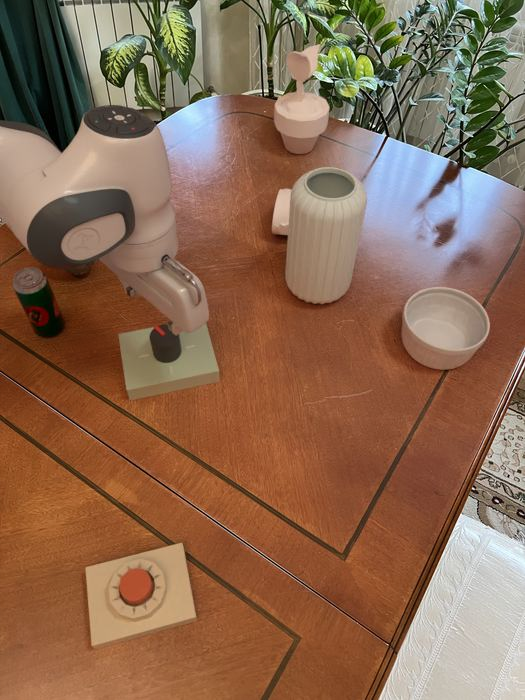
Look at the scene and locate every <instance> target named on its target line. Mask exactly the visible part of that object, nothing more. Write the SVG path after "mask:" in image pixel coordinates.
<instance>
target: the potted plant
mask: <svg viewBox="0 0 525 700" xmlns="http://www.w3.org/2000/svg"><path fill="white" fill-rule="evenodd" d="M321 50H322V41H320V42H319V43H318V44H315V45H312V46H308V47H307V48H305V49H304V50H302V51H301V52H300V51H297V50H294V51H292V52H290V53H288V54H287V57H286V62H285V63H286V65H287V67H288V70H289V74H290V76H291V78H292V79H293V80H295V81H296V82H295V83H296V91H293V92H287V93H286V94H284V95H281V96H279V97H278V98H277V100H276V101H275V103H274V105H273V123H274V125H275V128H276V130H277V131H278V132H280V136H281V139H282V142H283V145H284V148H285V150H286V151H288V152H289V153H291V154H295V155H305V154H308V153H310V152H312V151H313V149H314V147H315V145H316V143H317V141H318V138H319V136H320V135H321V134H323V133H325V132H326V129H327V128H328V124H329V118H330V117H329V116H330V105H329V103H328V101H327V99H326V98H324V97H322V96H321V95H319V94H317V93H313V92H307V91H305V85H304V83H305V82H306V81H307V80H308V79H310V78H311V77H312V75H314V74H315V72H316V71H317V70H318V61H319V58H320V57H321V56H320V55H321ZM324 67H325V66H324V64H322V67H321V69H322V70H324Z"/></svg>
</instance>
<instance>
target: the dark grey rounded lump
mask: <svg viewBox="0 0 525 700" xmlns="http://www.w3.org/2000/svg"><path fill="white" fill-rule="evenodd" d="M95 261H96V260H94V261H92V262H90V263H88V264H85V265H83V266H79V267H75V268H69V269H63V270H64V271H66V272H68V273H70V274H71V275H72V276H74V277H75V278H85V277H87V276H89V274H90V273H91V271H92V267H93V266H94V264H95Z"/></svg>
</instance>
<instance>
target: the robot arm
mask: <svg viewBox="0 0 525 700" xmlns="http://www.w3.org/2000/svg"><path fill="white" fill-rule="evenodd" d="M170 167H171V166H170V162H169V156H168V151H167V148H166V144H165V140H164V137H163V135H162V132H161V130H160V127H159V126H158V124H157V123H156V122H155V121H154V120H152V118H150V117H149V116H148V115H147V114H145V113H143V112H141V111H140V110H138V109H136V108H133V107H129V106H124V105H121V104H105V105H99V106H97V107H93V108H90V109H89V110H88V111H86V112H85V113H84V114H83V115H82V118H81V122H80V125H79V128H78V130H77V132H76V134H75V135H74V137H73V139H72V140H71V142H70V143H69V144H68V146H67V147H65V149H64V150H63V151H61V149H60V148H59V147H58V146H57V145H56V144H55V142H54V141H53V139H51V137H50V136H49V135H48V134H46V133H45V132H44V131H43V130H41V129H40V128H38V127H35V126H33V125H31V124H28V123H25V122H24V123H23V122H19V121H11V120H3V119H0V219H1V220H2V221H3V223H4V224H5V225H6V226H7V227H8V228H9V229H10V231H11V233H13V235H14V237H16V238H17V240H18V241H19V243H21V245H22V246H23V247H24V248H25V249H26V250H27V251H28V253H29V254H30V255H31V256H32V257H33V259H35V260H36V262H38V263H40V264H41V265H43V266H45V267H48V268H52V269H57V270H58V269H60V270H64V269H69V268H75V267H79V266H83V265H85V264H88V263H90V262H92V261H94V260H95V261H96V260H98V261H99V262H100V263H102V264H103V265H104V266H106V267H107V268H108V269H109V270H110V271H111V272H112V273H113V274H114V275H116V278H118V280H119V282H120V284H121V285H122V286H123V290H124V293H125V294H126V295H127V296H128V297H129V298H131V299H132V300H133V299H135V298H136V297H138V296H141V297H142V298H144V299H145V300H146V301H147V302H148V303H150V304H151V305H152V306H153V307H155V308H156V309H157V310H158V311H159V312H160V313H162V314H163V315H164V316H165V317H166V318H167V319H169V320H168V321H167V322H166V325H168V329H169V330H170V331H171V332H172V333H173V334H174V335H178V334H180V333H181V332H182V331H184V332H186V333H191V332H193V331H195V330H197V329H199V328H200V327H201V326H203V325H204V324H205V323H206V324H207V322H209V320H210V311H209V309H210V308H209V304H208V299H207V294H206V290H205V288H204V285H203V283H202V282H201V280H200V279H199V277H198V276H197V275H196V274H195V273H193V272H192V271H191V270H189V269H188V268H187V267H186V266H184V265H183V264H182V263H181V262H179V261H178V260H176V256H177V254H178V252H179V247H180V246H179V244H180V243H179V235H178V227H177V219H176V212H175V209H174V206H173V204H172V201H171V194H172V190H173V189H172V188H173V183H172V176H171V169H170ZM95 261H94V262H95Z"/></svg>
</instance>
